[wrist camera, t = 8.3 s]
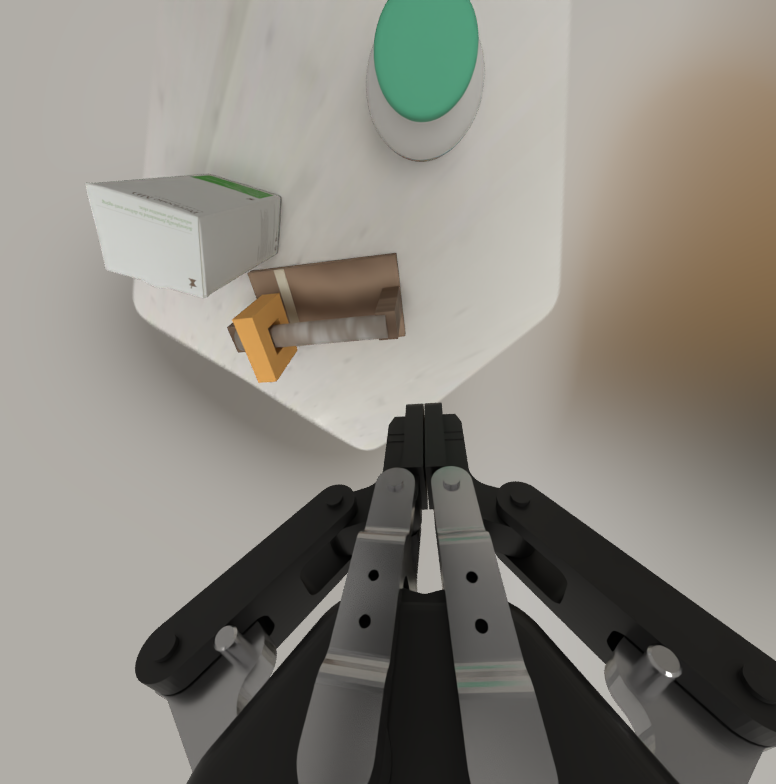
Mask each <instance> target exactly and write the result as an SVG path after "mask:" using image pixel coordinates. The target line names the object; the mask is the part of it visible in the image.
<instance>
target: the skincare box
mask: <svg viewBox="0 0 776 784" xmlns="http://www.w3.org/2000/svg"><path fill="white" fill-rule="evenodd" d="M85 186H86V190H87V194H88V199H89V203H90V207H91V210H92V214H93V218H94V221H95V226H96V230H97V234H98V238H99V242H100V247H101V251H102V255H103V259H104V263H105V268H106V270H108V271H112V272H115V273H119V274H122V275H125V276H128V277H131V278H135V279H138V280H141V281H144V282H146V283H147V284H149V285H151V286H153V287H156V288H169V289H172V290H176V291H179V292H182V293H186V294H189V295H193V296H196V297H200V298H207V297H208V296H209V295H210V294H212V293H213V292H215V291H216V290H218V289H219V288H221V287H223V286H224V285H226V284H228V283H229V282H231V281H232V280H234V279H236V278H237V277H239V276H241V275H242V274H244V273H245V272H247V271H249V270H250V269H252V268H254V267H255V266H257V265H259V264H260V263H262V262H263V261H265V260H267V259H268V258H270V257H272V256H274V255H275V254H277V249H278V234H279V217H280V200H281V198H280V196H278V195H275V194H271V193H268V192H265V191H262V190H259V189H256V188H253V187H249V186H246V185H243V184H239V183H236V182H233V181H229V180H226V179H223V178H220V177H217V176H214V175H211V174H200V175H188V176H176V177H162V178H149V179H139V180H138V179H137V180H124V181H113V182H100V183H85Z"/></svg>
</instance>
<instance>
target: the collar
mask: <svg viewBox="0 0 776 784" xmlns="http://www.w3.org/2000/svg"><path fill="white" fill-rule="evenodd" d="M232 321H233V323H234V326H235V328H236V330H237V333H238V335H239V337H240V340H241V342H242V344H243V347H244V349H245V352H246V354H247V356H248V359H249V361H250V363H251V366H252V368H253V370H254V373H255V375H256V378H257V380H258V382H259V383H261V382H275V381H277V380H278V379H279V377H280V376H281V374H282V373H283V371H284V370H285V368H286V367H287V365H288V364H289V362H290V361H291V359H292V358H293V356H294V355H295V353H296V352H297V347H296V346H290V347H278V348H275V347H274V345H273V342H272V339H271V336H270V334H269V331H268V328H269V327H270V326H271V325H278V324H288V323H289V322H288V319H287V316H286V313H285V310H284V307H283V304H282V300H281V297H280V294H279V293H275V294H266V295H261V296H260V297H259V298H258V299H257V300H255V301H254V302H253V303H252V304H251V305H249V306H248V307H247V308H246V309H244V310H243V311H242V312H241V313H240V314H238V315H237V316H236V317H235V318H234V319H232Z"/></svg>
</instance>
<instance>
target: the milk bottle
mask: <svg viewBox="0 0 776 784" xmlns="http://www.w3.org/2000/svg"><path fill="white" fill-rule="evenodd" d="M484 74H485V68H484V56H483V51H482V46H481V43H480V39H479V37H478V26H477V20H476V16H475V12H474V9H473V7H472V4H471V2H470V0H388V1H387V3H386V4H385V6H384V8H383V10H382V13H381V15H380V18H379V21H378V24H377V28H376V33H375V39H374V44H373V47H372V50H371V53H370V57H369V61H368V67H367V75H366V92H367V101H368V107H369V111H370V115H371V118H372V120H373V123H374V125H375V127H376V129H377V131H378V133H379V135H380V136H381V137H382V139H383V140H384V142H385V143H386V144H387V145H388V146H389V147H390V148H391V149H392V150H393V151H394V152H396V153H397V154H399V155H400V156H402V157H404V158H406V159H409V160H412V161H419V162H424V161H430V160H433V159H436V158H438V157H440V156H442V155H444V154H445V153H447V152H448V151H450V150H451V149H452V148H453V147H454V146H455V145H457V144H458V142H459V141H460V140H461V139H462V138H463V136H464V135H465V134H466V132H467V131H468V129H469V128H470V126H471V124H472V122H473V120H474V119H475V116H476V114H477V111H478V108H479V105H480V102H481V98H482V93H483V87H484Z"/></svg>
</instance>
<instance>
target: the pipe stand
mask: <svg viewBox="0 0 776 784" xmlns="http://www.w3.org/2000/svg"><path fill="white" fill-rule="evenodd" d="M248 276H249V279H250V281H251V284H252V287H253V290H254V292H255V295H256V298H257V299H258V298H259V297H260V296H261V295H266V294H275V293H279V294H280V297H281V300H282V304H283V307H284V310H285V313H286V316H287V319H288V322H289V323H288V324H278V325H271V326H270V327H269V328H268V331H269V334H270V336H271V339H272V342H273V345H274V347H275V348H278V347H290V346H304V345H313V344H324V343H336V342H347V341H359V340H370V339H379V340H388V339H398V337H402V336H405V326H404V317H403V308H402V300H401V291H400V282H399V273H398V264H397V255H396V253H391V254H383V255H375V256H367V257H359V258H351V259H343V260H335V261H327V262H319V263H311V264H303V265H295V266H287V267H279V268H271V269H263V270H255V271H250V272H249V273H248ZM227 328H228V331H229V333H230V335H231V338H232V340H233V342H234V344H235V347H236V349H237V351H238V352H245V349H244V347H243V344H242V342H241V340H240V337H239V335H238V333H237V330H236V328H235V326H234V323H232V324H231V325H229V326H228V327H227Z"/></svg>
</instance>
